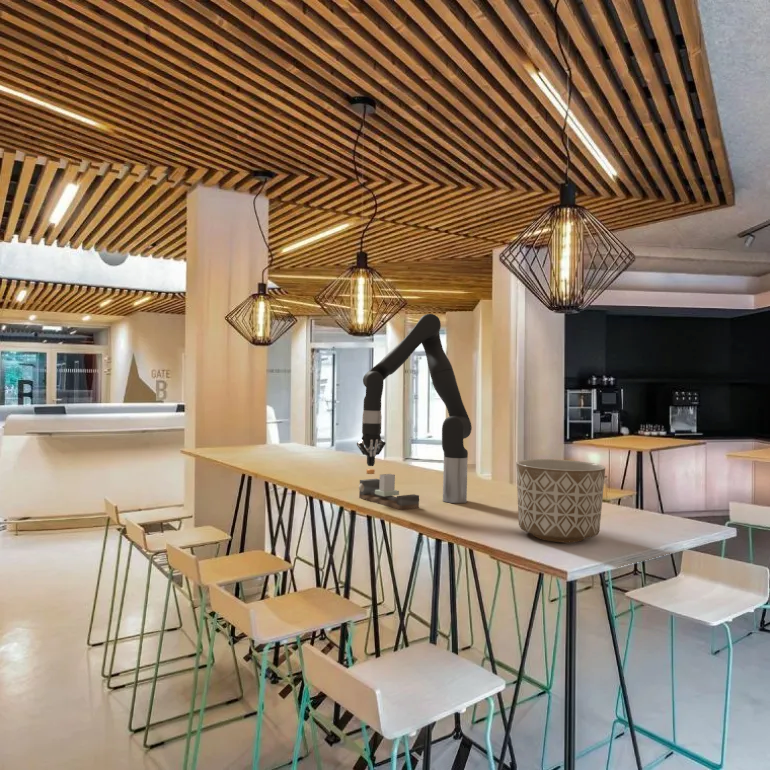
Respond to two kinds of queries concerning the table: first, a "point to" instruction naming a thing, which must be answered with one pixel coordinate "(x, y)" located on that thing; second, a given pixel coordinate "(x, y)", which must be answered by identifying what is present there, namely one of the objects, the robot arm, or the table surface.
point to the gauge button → (370, 471)
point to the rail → (398, 502)
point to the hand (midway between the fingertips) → (370, 465)
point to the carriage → (387, 485)
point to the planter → (560, 498)
